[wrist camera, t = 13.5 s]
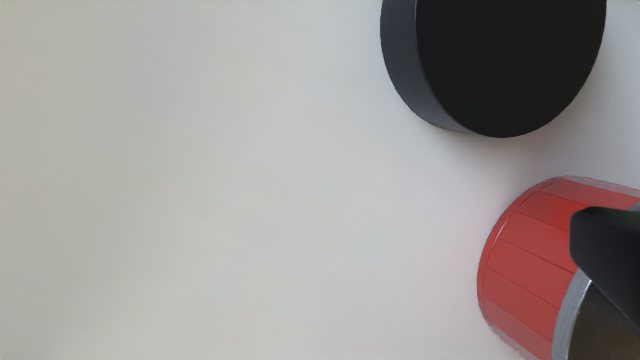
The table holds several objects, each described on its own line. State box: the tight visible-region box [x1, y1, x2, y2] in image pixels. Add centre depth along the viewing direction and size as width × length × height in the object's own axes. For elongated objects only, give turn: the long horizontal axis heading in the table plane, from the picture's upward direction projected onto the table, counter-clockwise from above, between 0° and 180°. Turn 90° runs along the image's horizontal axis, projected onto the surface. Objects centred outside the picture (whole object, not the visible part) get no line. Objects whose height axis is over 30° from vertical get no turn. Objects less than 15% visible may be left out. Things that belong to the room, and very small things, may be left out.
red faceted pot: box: [477, 176, 640, 360], centre depth 23 cm, size 11×11×6 cm
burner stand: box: [380, 0, 607, 138], centre depth 19 cm, size 10×10×3 cm
